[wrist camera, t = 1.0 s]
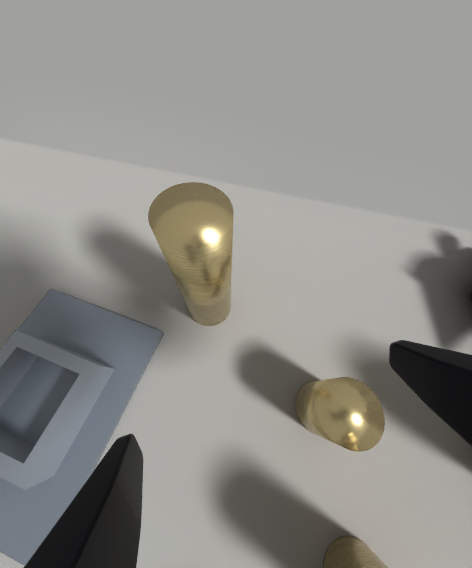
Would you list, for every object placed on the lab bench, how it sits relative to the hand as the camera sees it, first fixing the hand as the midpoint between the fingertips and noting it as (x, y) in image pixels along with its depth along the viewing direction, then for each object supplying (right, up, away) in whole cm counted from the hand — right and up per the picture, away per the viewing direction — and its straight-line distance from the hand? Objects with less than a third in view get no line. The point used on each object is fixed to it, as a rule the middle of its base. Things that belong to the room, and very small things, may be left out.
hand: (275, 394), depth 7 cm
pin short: (+6, -7, +12) cm, 14 cm away
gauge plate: (-16, -6, +11) cm, 21 cm away
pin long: (-4, +1, +15) cm, 16 cm away
